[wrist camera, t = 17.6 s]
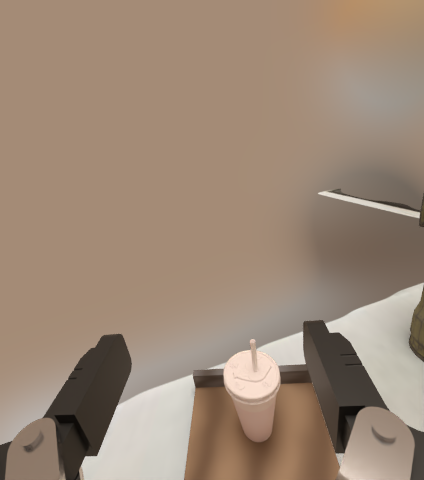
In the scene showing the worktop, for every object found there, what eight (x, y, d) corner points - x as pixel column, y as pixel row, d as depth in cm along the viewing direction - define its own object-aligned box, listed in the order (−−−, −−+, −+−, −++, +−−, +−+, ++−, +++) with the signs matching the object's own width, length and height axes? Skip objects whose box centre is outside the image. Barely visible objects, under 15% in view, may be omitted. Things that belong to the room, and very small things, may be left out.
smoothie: (292, 448, 30) (288, 359, 25) (238, 461, 29) (223, 374, 24) (272, 396, 36) (266, 316, 30) (227, 407, 35) (213, 328, 30)
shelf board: (185, 497, 28) (178, 478, 27) (198, 386, 41) (193, 368, 39) (346, 498, 27) (349, 476, 25) (309, 381, 39) (309, 362, 37)
